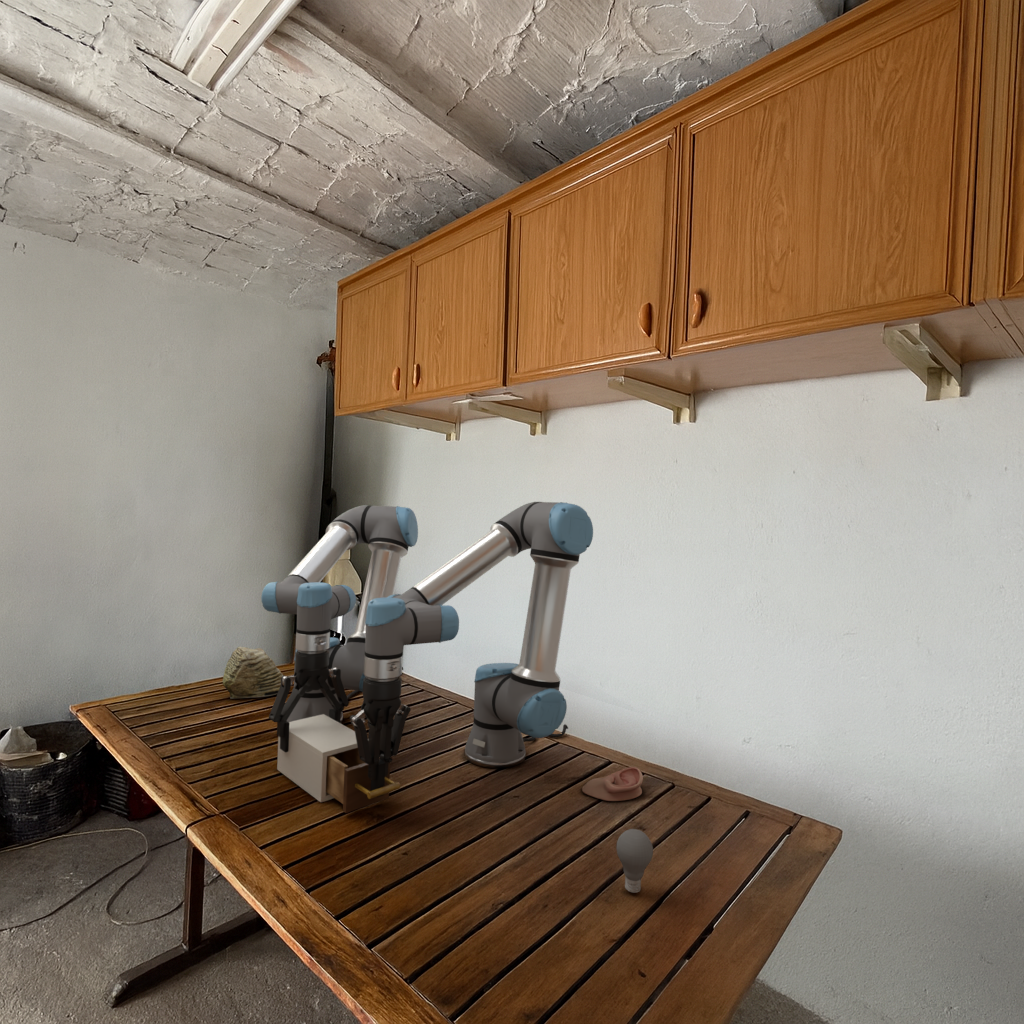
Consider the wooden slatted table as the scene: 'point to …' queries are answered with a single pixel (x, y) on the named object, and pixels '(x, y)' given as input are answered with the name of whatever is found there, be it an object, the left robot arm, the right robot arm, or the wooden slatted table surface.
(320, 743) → the cabinet
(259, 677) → the fossil
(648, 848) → the light bulb
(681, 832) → the wooden slatted table surface
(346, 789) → the drawer
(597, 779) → the anatomical model
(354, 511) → the left robot arm
